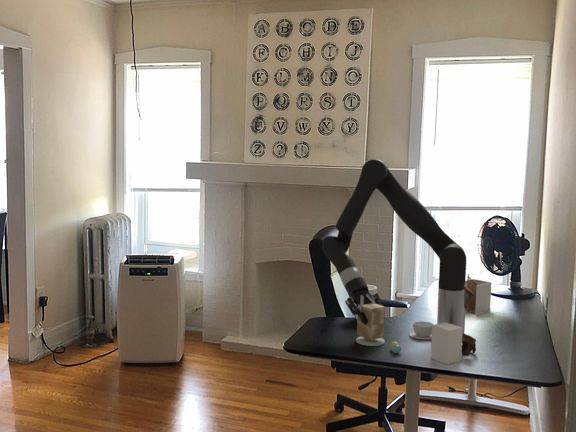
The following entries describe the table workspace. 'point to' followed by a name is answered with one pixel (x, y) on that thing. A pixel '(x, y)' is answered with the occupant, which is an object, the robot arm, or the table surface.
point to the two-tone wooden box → (477, 295)
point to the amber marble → (394, 344)
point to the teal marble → (396, 349)
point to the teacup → (422, 330)
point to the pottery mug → (468, 344)
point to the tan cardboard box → (372, 322)
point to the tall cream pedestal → (446, 343)
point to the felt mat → (370, 341)
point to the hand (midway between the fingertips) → (374, 321)
